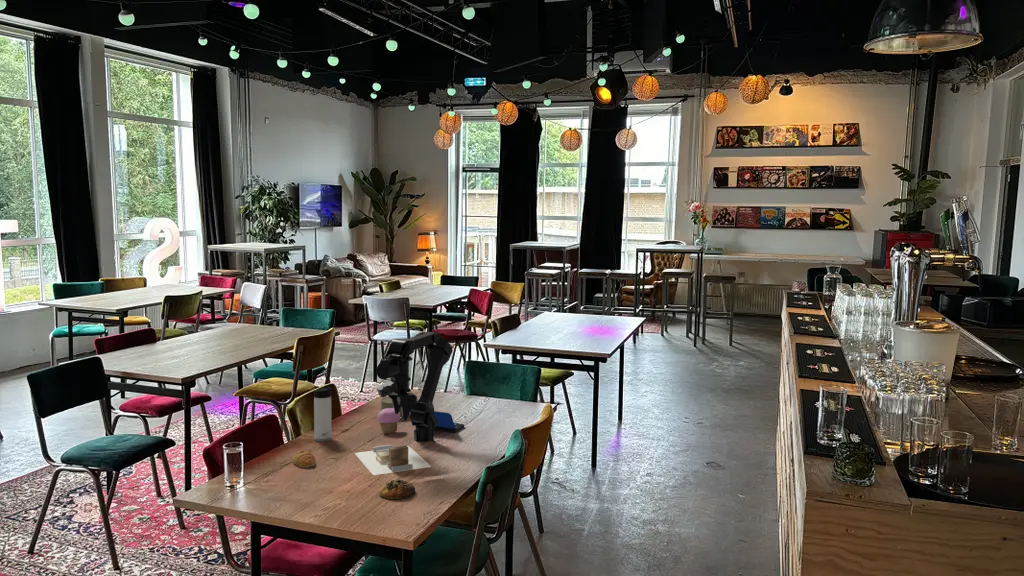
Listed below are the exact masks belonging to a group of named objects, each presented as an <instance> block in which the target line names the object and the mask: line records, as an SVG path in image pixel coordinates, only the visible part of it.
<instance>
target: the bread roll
mask: <svg viewBox="0 0 1024 576" xmlns="http://www.w3.org/2000/svg"><path fill="white" fill-rule="evenodd" d="M415 494H416V488H415V486H414V484H412V483H411V482H409V481H407V480H403V479H402V480H401V479H391V480H390V481H387V482H385V484H383V486H382V487H380V488H379V491H378V495H380V496H381V497H382V498H384V499H386V500H387V499H388V500H393V501H394V500H401V499H402V500H403V499H408V498H410V497H413V496H414V495H415Z"/></svg>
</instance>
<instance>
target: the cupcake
mask: <svg viewBox="0 0 1024 576" xmlns="http://www.w3.org/2000/svg"><path fill="white" fill-rule="evenodd" d="M376 418H377V421H378V423H379V424H380V425H379V426H380V429H381V431H382V433H383V434H384V435H385V434H388V435H391V434H395V433H396V432H397V430H398V422H399V421H400V420H401V418H400V413H398V414H395V411H394V408H386V409H383V410H382V411H381V410H380V411H379V412H378V414H377V417H376Z"/></svg>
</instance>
